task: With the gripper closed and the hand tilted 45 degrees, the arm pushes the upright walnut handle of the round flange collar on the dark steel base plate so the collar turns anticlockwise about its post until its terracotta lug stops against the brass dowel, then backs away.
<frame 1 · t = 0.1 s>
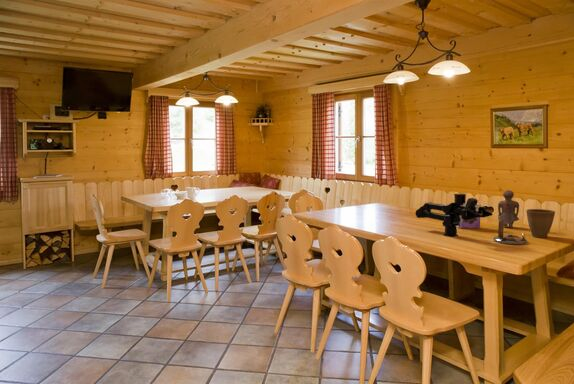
hand: (486, 215, 241), 17 cm above the table, tool horizontal, fingers open, 9 cm apart
post base: (509, 241, 246), on the table
candy box: (468, 228, 288), on the table
clay figurine: (507, 227, 286), on the table
flange: (511, 229, 243), point 7 cm above the table, hinge at 0.0°
plant pot: (539, 236, 257), on the table
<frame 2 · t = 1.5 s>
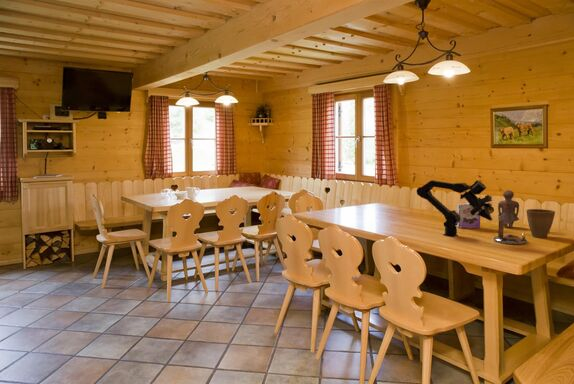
hand: (491, 220, 246), 13 cm above the table, tool tilted 45°, fingers closed
nothing on the table moved.
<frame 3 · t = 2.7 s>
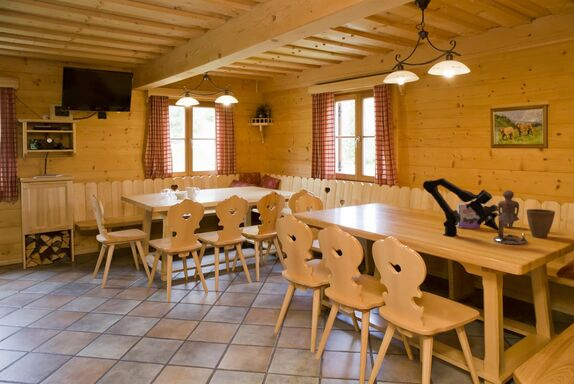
hand: (498, 229, 244), 7 cm above the table, tool tilted 45°, fingers closed, pressing on flange
flange: (511, 229, 243), point 7 cm above the table, hinge at 0.1°, touching gripper
everything else where it was.
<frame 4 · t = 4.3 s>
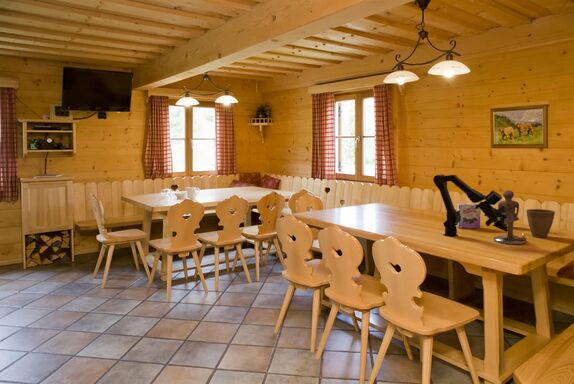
hand: (507, 231, 240), 7 cm above the table, tool tilted 45°, fingers closed, pressing on flange
flange: (514, 229, 243), point 7 cm above the table, hinge at 43.3°, touching gripper
everything else where it was.
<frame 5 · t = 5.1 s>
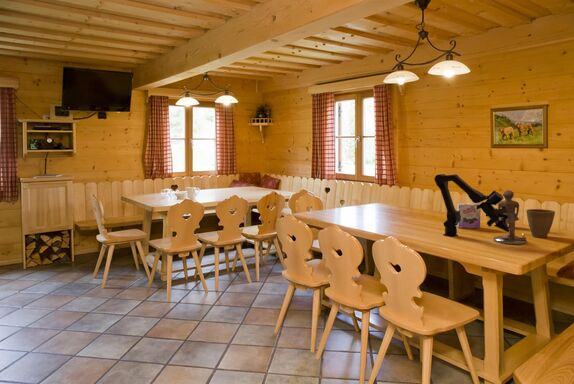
hand: (508, 231, 239), 7 cm above the table, tool tilted 45°, fingers closed
flange: (514, 229, 243), point 7 cm above the table, hinge at 50.6°
everything else where it was.
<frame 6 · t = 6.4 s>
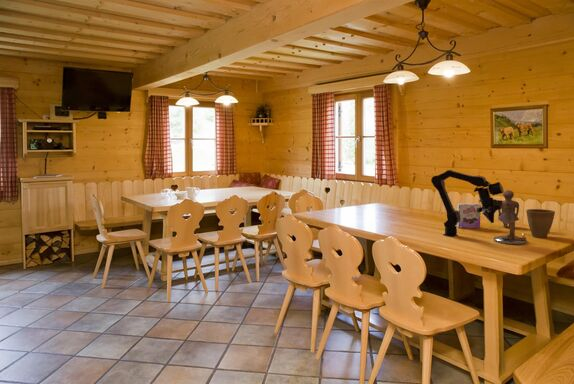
hand: (492, 222, 248), 11 cm above the table, tool tilted 15°, fingers closed
nothing on the table moved.
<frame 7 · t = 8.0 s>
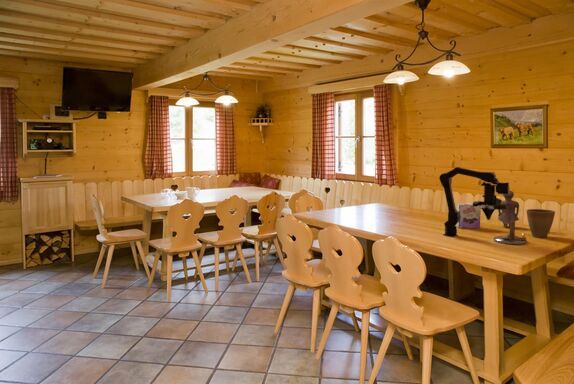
hand: (488, 219, 251), 12 cm above the table, tool pointing down, fingers closed
nothing on the table moved.
at the end: flange at +51° (first picture: +0°); the gripper is holding nothing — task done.
